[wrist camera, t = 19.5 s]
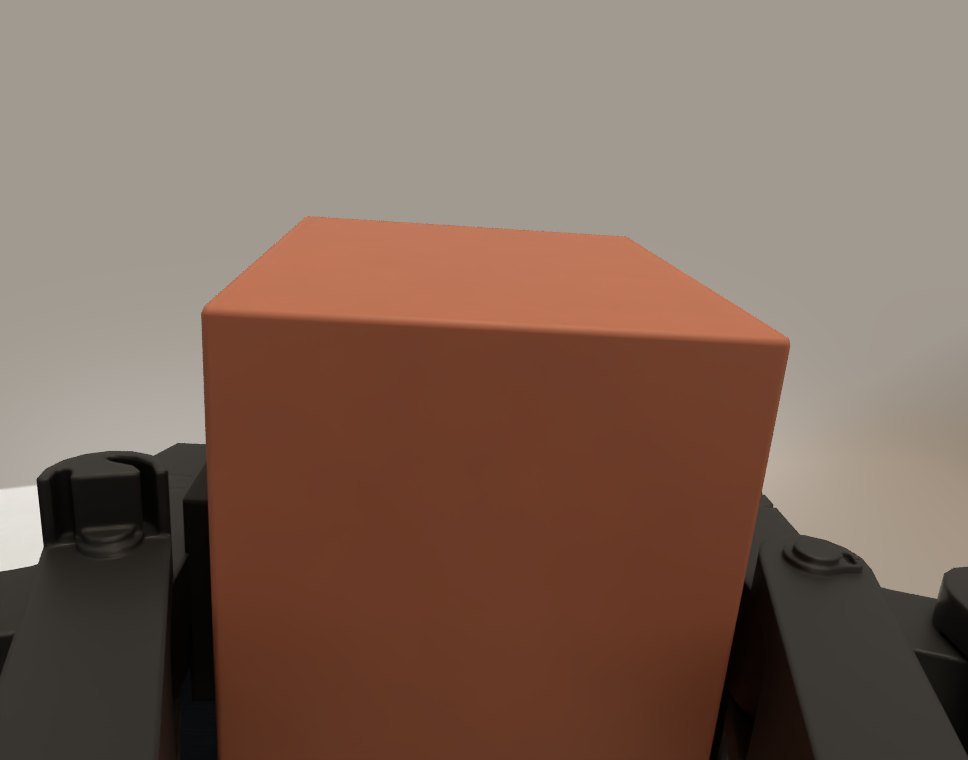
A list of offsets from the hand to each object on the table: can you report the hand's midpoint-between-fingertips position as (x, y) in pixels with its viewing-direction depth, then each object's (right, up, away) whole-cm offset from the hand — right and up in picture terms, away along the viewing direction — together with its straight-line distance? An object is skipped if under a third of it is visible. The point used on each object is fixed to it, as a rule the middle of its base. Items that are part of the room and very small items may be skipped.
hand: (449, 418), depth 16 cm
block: (0, -7, -3) cm, 8 cm away
